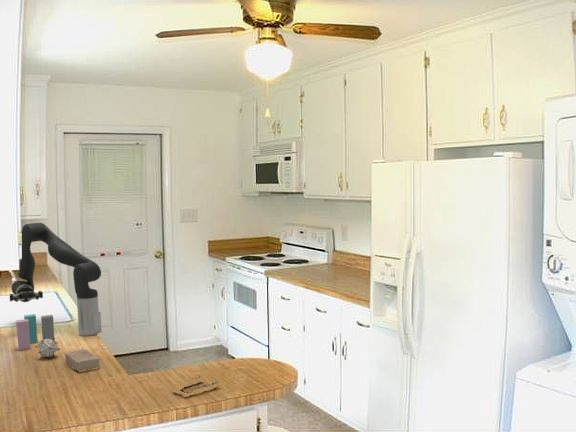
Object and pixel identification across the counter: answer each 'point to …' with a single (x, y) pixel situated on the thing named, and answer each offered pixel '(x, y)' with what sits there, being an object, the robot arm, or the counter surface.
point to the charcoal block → (47, 327)
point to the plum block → (23, 334)
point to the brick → (81, 360)
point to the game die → (47, 347)
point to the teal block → (32, 327)
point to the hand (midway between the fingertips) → (27, 298)
